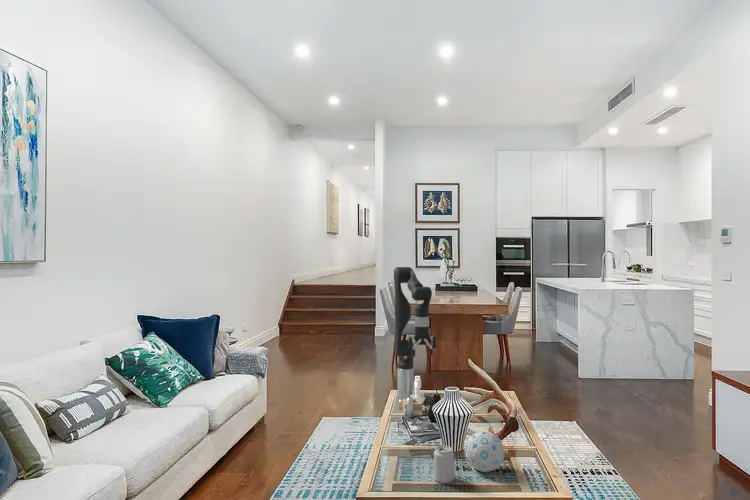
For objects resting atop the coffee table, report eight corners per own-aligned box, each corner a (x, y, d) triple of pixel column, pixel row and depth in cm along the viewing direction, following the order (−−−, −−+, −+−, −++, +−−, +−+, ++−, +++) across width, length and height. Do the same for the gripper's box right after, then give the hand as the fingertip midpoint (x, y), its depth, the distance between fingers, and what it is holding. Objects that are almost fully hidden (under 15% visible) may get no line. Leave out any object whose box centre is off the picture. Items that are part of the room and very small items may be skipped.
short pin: (398, 408, 281) (398, 398, 281) (403, 407, 282) (403, 398, 282) (399, 409, 278) (399, 400, 278) (404, 409, 279) (404, 400, 279)
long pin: (406, 416, 268) (406, 397, 267) (412, 416, 268) (412, 397, 268) (407, 418, 265) (407, 399, 264) (413, 418, 265) (413, 398, 265)
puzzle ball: (457, 469, 206) (457, 431, 205) (481, 458, 215) (481, 422, 215) (488, 482, 194) (488, 442, 194) (512, 470, 204) (512, 433, 203)
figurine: (422, 400, 295) (421, 373, 295) (426, 405, 286) (425, 378, 286) (409, 400, 294) (409, 374, 294) (413, 405, 285) (412, 378, 285)
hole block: (402, 410, 277) (402, 399, 277) (419, 409, 278) (418, 398, 278) (405, 416, 269) (405, 404, 268) (422, 415, 270) (422, 403, 269)
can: (440, 473, 202) (440, 442, 202) (457, 479, 197) (457, 447, 197) (430, 480, 196) (429, 448, 196) (447, 486, 191) (447, 454, 191)
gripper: (433, 323, 275) (434, 354, 275) (407, 324, 273) (407, 355, 274) (436, 325, 268) (437, 357, 268) (409, 326, 266) (409, 358, 266)
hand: (422, 356), depth 271 cm, fingers open, 8 cm apart
